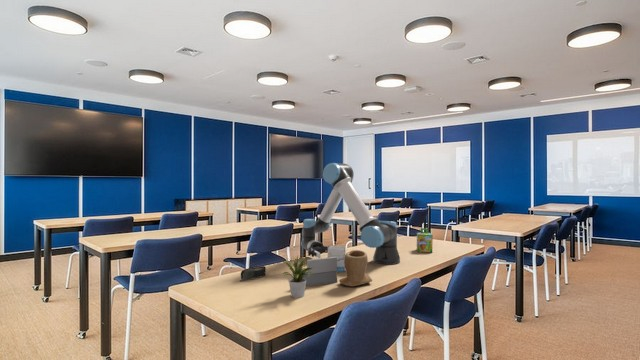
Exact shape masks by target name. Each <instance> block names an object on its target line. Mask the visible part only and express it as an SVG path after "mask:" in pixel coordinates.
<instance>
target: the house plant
mask: <svg viewBox="0 0 640 360" xmlns="http://www.w3.org/2000/svg"><path fill="white" fill-rule="evenodd" d="M306 258H307V256H305V257H304V258H302V260H301V261H300V262H299V254H297V256H296V259H295V258H293V262H289V261H288V260H289V258H286V259H285V260H282V262H284V263H285V264H286V265H287V266H288V269H289V270H290V271H291V272H292V274H290V272H288V271H284V272H283V273H282V274H283V275H284V276H291V277H292V278H290V279H289V280H288V284H289V285H288V286H289V290H290V291H289V292H290V296H291V297H292V298H295V299H298V298H303V297H305V290H306V279H304V278H303V277H304V276H305V275H309V276H310V274H307V273H311V274H313V273H312V272H306V271H307V270H310V269H315V268H306V269H305V268H304V267H305V266H307V264H308V263H309V262H310V261H309V262H308V263H307V262H306ZM311 261H312V260H311ZM305 262H306V263H305ZM291 263H292V265H291ZM302 266H304V267H302ZM302 268H303V269H304V270H303V269H302ZM301 270H302V271H301ZM305 272H306V274H305Z"/></svg>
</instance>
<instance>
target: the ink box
mask: <svg viewBox="0 0 640 360" xmlns="http://www.w3.org/2000/svg"><path fill="white" fill-rule="evenodd" d="M329 246H330V247H329V248H328V253H327V258H329V257H337V273H338V272H340V273H342V272H343V273H344V271H346V269H345V263H344V262H345V255H346V246H343V245H329Z"/></svg>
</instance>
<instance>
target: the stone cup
mask: <svg viewBox="0 0 640 360" xmlns="http://www.w3.org/2000/svg"><path fill="white" fill-rule="evenodd" d="M368 261H369V259H368V254H367V253H366V252H365V251H363V250H358V249H355V250H354V249H352V250H350V251H348V252H345V262H344V263H345V272H346V276H345V277H342V278H340V279H339V280H338V282H339V283H340V284H341V285H344V286H346V287H356V286H357V287H358V286H360V285H361V286H362V285H364V284H368V283H371V282H373V279H372V278H371V276H370V275H369V274H368V273H366V269H367V266H368Z"/></svg>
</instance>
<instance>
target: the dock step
mask: <svg viewBox="0 0 640 360" xmlns="http://www.w3.org/2000/svg"><path fill="white" fill-rule="evenodd" d="M311 260H312V261H311ZM309 261H310V262H309ZM308 262H309V263H308ZM307 263H308V264H307ZM306 264H307V266H305V267H304V265H303V266H302V267H304V268H305V269H306V268H315V269H310V270H307V271H306V272H312V273H313V274H311V273H307V274H310V276H309V275H305V276H304V277H303V278H304V279H306V285H307V287H313V286H318V285H319V286H320V284H321V285H327V284H334V283H338V272H337V257H329V258H328V257H322V258H321V257H320V258H313V259H306ZM302 269H303V268H302ZM303 270H304V269H303ZM301 271H302V270H301ZM306 272H305V274H306Z"/></svg>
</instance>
